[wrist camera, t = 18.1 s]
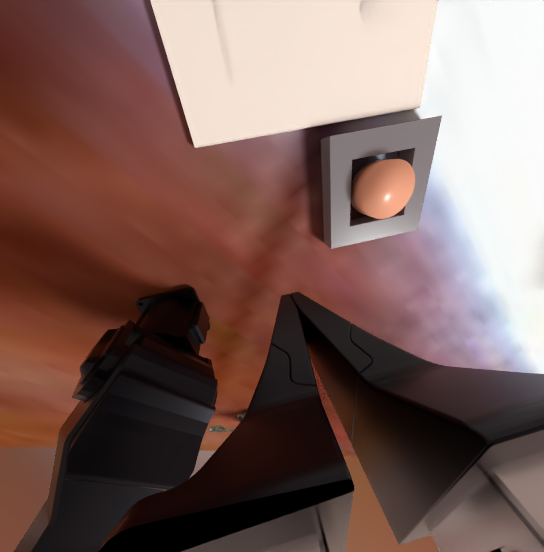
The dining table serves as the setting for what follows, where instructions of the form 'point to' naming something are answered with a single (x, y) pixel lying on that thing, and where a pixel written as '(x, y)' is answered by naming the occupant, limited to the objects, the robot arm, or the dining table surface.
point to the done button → (382, 188)
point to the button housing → (345, 147)
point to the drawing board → (293, 62)
